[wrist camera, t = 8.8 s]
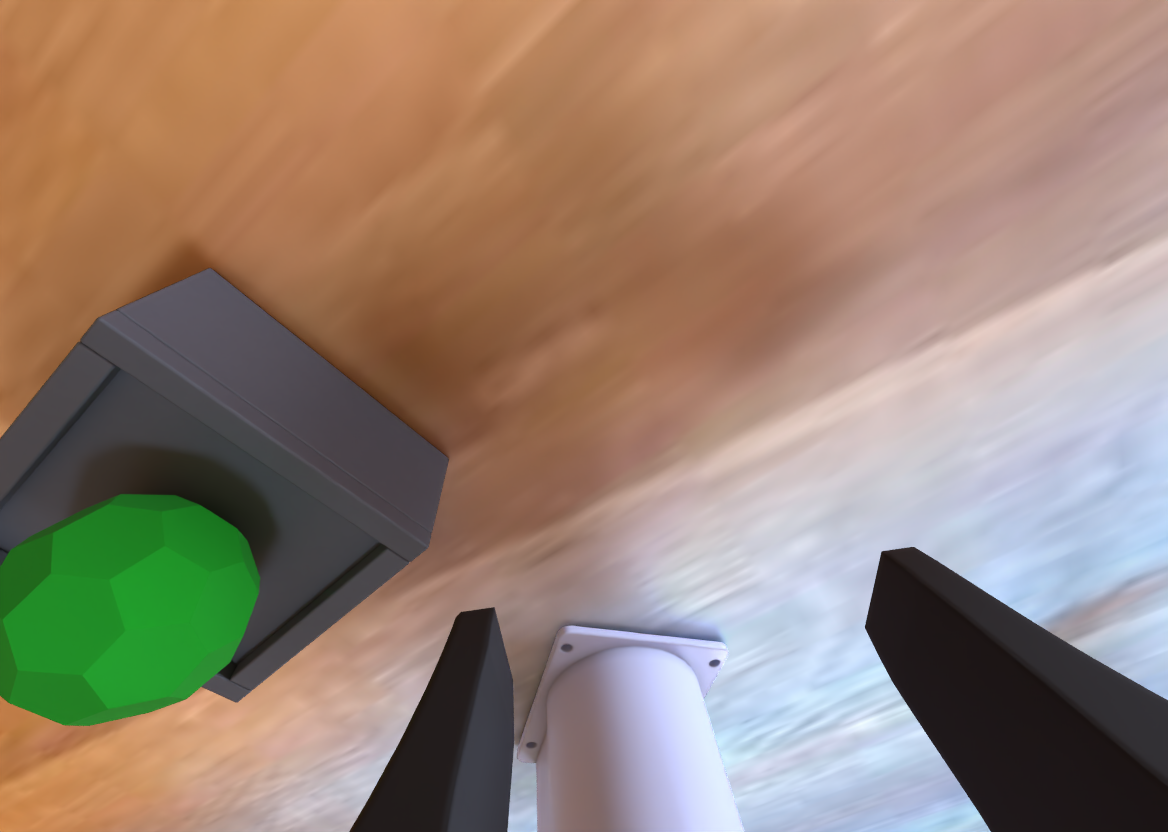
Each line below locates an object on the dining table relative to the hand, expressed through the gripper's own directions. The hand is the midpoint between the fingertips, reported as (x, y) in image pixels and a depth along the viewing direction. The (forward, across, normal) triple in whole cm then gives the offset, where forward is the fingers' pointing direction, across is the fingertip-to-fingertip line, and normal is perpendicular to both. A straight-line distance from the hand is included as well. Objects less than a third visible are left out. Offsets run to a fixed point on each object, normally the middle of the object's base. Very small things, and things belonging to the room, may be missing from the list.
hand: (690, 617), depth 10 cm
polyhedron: (+6, +12, 0) cm, 14 cm away
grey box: (+10, +12, +1) cm, 16 cm away
